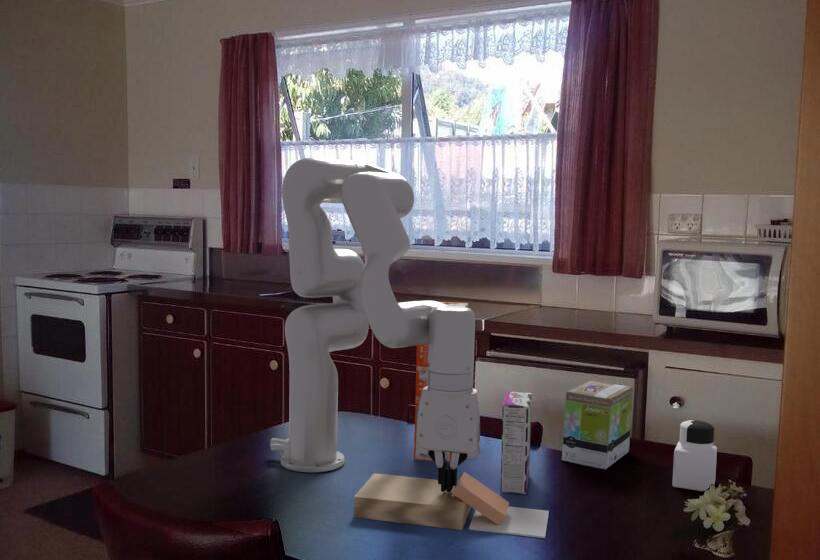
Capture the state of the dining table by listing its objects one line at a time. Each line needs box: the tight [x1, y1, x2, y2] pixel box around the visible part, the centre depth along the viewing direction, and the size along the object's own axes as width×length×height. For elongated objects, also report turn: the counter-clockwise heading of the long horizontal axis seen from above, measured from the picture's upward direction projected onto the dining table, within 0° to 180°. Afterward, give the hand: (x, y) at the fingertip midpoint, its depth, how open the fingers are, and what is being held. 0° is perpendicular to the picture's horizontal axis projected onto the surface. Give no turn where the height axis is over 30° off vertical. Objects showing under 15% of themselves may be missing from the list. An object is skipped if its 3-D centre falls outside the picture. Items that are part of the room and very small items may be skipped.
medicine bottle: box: [671, 419, 718, 492], centre depth 147 cm, size 7×7×12 cm
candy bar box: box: [500, 390, 532, 495], centre depth 145 cm, size 11×5×16 cm, turn 168°
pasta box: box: [413, 301, 469, 464], centre depth 168 cm, size 23×8×30 cm, turn 171°
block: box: [452, 471, 510, 525], centre depth 128 cm, size 9×6×2 cm
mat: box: [468, 506, 550, 539], centre depth 128 cm, size 12×11×1 cm
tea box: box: [561, 380, 634, 470], centre depth 163 cm, size 15×10×15 cm
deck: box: [353, 472, 473, 531], centre depth 131 cm, size 18×12×4 cm, turn 77°
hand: (447, 489), depth 130 cm, fingers closed
